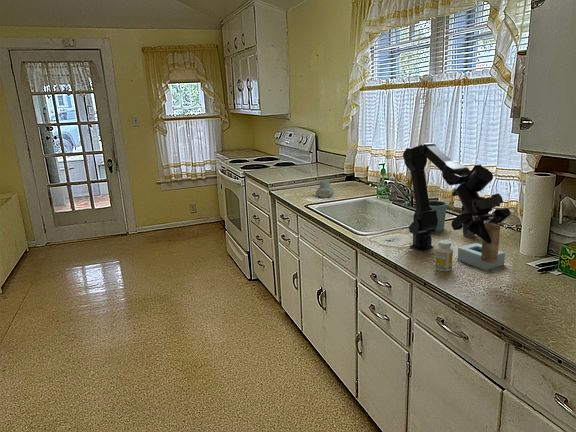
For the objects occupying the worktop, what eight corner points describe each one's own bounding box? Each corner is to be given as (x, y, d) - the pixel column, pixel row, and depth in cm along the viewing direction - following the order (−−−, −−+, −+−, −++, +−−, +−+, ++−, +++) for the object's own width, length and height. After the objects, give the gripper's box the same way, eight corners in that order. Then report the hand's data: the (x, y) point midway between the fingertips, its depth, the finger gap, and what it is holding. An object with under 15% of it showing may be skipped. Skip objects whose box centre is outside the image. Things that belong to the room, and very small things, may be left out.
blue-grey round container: (446, 227, 191) (448, 201, 188) (444, 233, 182) (445, 206, 179) (423, 225, 195) (424, 199, 192) (420, 231, 186) (420, 205, 183)
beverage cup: (455, 234, 180) (458, 188, 175) (469, 232, 183) (472, 186, 177) (468, 239, 174) (471, 191, 168) (482, 236, 176) (485, 189, 171)
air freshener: (334, 195, 265) (333, 179, 262) (333, 198, 257) (333, 181, 254) (316, 195, 266) (316, 179, 264) (315, 198, 259) (315, 182, 256)
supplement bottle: (439, 272, 143) (440, 245, 141) (432, 266, 148) (433, 240, 146) (454, 270, 144) (456, 243, 141) (447, 265, 149) (448, 238, 146)
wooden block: (481, 259, 134) (483, 223, 131) (487, 258, 135) (490, 222, 132) (490, 263, 131) (493, 226, 128) (497, 262, 131) (500, 225, 128)
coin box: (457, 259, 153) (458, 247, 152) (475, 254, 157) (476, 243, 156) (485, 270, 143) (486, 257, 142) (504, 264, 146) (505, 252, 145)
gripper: (459, 188, 128) (484, 233, 121) (509, 182, 133) (535, 225, 126) (441, 208, 137) (463, 251, 130) (488, 201, 143) (512, 242, 135)
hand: (493, 242), depth 130 cm, fingers closed on wooden block, 2 cm apart
